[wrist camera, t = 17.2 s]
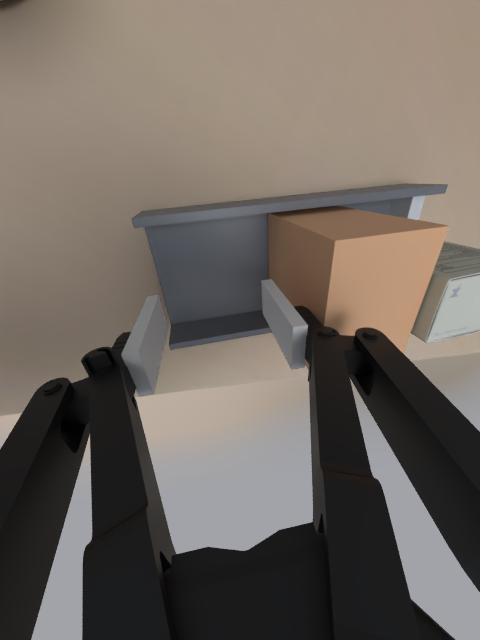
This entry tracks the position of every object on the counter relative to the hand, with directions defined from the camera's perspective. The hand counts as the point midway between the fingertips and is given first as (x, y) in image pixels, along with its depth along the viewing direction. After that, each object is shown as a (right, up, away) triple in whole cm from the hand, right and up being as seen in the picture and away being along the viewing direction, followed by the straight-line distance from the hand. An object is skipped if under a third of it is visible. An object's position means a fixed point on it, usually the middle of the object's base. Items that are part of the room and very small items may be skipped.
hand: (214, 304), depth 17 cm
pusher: (+8, +5, +6) cm, 11 cm away
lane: (+6, +5, +6) cm, 10 cm away
